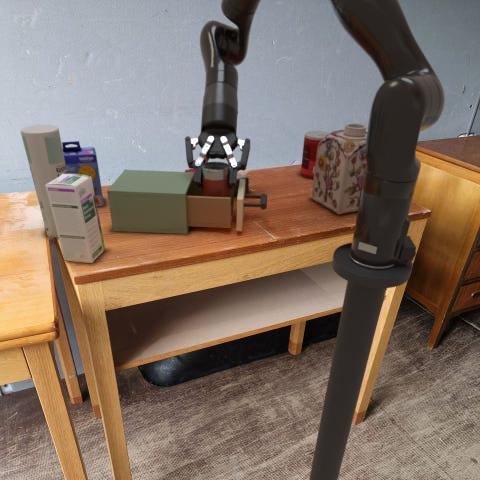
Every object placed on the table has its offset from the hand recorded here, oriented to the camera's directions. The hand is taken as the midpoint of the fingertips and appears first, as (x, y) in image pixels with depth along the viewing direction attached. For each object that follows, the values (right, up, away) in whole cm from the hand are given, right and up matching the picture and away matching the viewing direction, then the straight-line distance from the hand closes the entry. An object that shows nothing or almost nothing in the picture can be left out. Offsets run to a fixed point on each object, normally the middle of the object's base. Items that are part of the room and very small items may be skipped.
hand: (215, 186), depth 91 cm
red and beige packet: (-1, +7, +24) cm, 25 cm away
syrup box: (-24, -16, -8) cm, 30 cm away
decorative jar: (+30, +1, +17) cm, 35 cm away
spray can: (-32, -9, +1) cm, 33 cm away
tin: (0, -3, +4) cm, 5 cm away
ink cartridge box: (-32, -1, +13) cm, 35 cm away
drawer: (+1, -5, +6) cm, 8 cm away
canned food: (+26, +14, +35) cm, 46 cm away
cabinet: (-13, -5, +7) cm, 16 cm away
